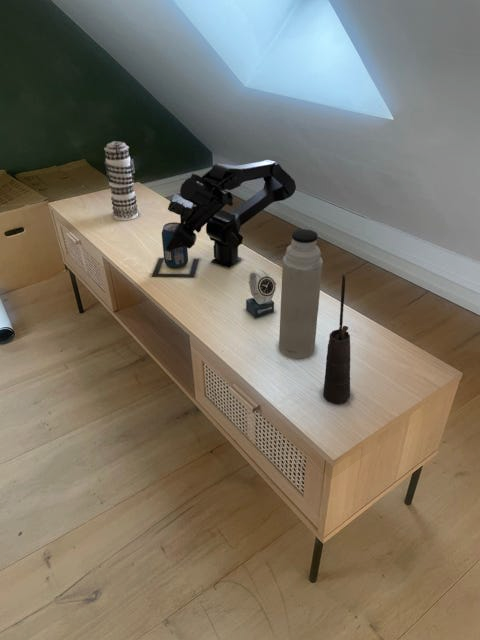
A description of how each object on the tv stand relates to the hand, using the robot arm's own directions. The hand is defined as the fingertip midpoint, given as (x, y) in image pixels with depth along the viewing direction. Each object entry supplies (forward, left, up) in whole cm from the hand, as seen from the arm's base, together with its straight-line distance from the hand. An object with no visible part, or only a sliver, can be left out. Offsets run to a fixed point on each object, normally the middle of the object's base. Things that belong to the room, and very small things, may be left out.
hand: (170, 243), depth 143 cm
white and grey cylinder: (+38, -19, -7) cm, 43 cm away
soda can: (-1, -1, -7) cm, 7 cm away
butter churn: (-64, +22, -7) cm, 68 cm away
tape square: (-2, 0, -7) cm, 7 cm away
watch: (-35, +6, -7) cm, 36 cm away
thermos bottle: (-50, +14, -7) cm, 52 cm away
